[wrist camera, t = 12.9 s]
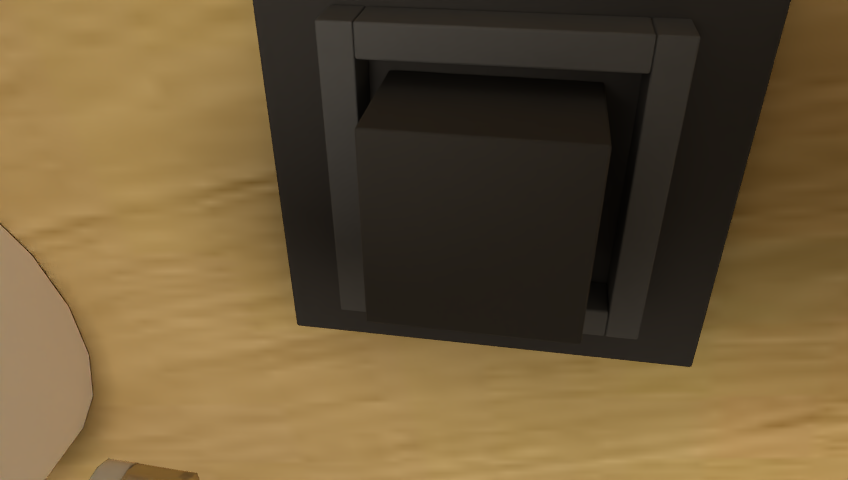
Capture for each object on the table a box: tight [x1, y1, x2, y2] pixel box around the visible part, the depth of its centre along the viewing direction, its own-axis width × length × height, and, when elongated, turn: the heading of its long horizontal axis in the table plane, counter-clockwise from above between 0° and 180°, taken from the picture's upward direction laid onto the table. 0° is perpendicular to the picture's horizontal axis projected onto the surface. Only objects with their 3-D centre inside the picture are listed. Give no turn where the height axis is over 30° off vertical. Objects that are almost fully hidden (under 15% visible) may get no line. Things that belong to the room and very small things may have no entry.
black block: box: [355, 71, 612, 344], centre depth 20 cm, size 6×6×4 cm
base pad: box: [253, 0, 791, 367], centre depth 21 cm, size 14×14×2 cm
